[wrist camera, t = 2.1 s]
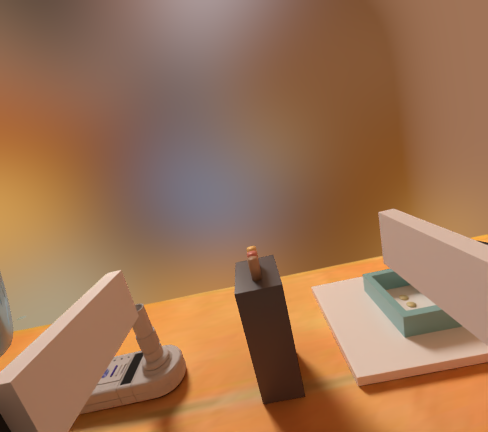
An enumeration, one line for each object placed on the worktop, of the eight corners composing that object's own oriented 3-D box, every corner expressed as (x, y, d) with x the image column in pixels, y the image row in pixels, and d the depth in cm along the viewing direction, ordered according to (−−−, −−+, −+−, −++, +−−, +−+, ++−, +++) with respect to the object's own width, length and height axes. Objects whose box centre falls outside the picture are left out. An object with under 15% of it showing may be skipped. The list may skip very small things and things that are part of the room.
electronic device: (44, 318, 31) (165, 289, 30) (79, 382, 34) (191, 356, 33) (6, 353, 26) (150, 319, 25) (50, 425, 28) (182, 396, 28)
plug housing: (263, 404, 25) (228, 272, 21) (258, 355, 31) (231, 245, 27) (305, 396, 25) (277, 262, 21) (292, 348, 30) (269, 237, 27)
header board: (358, 386, 24) (354, 355, 23) (312, 292, 40) (308, 272, 39) (580, 344, 24) (584, 311, 23) (445, 265, 39) (444, 244, 38)
